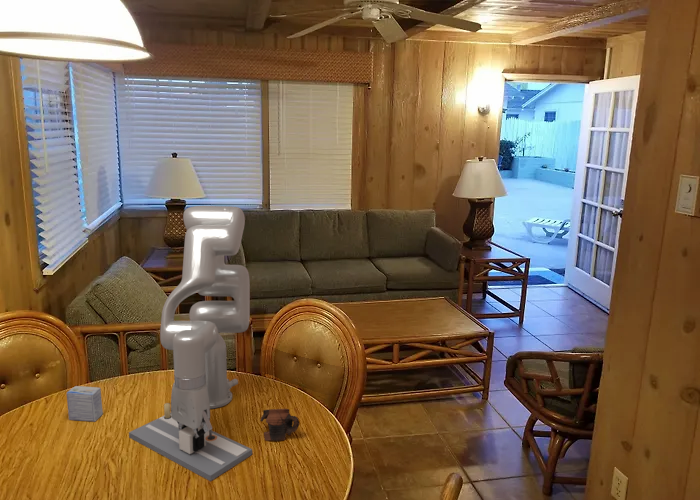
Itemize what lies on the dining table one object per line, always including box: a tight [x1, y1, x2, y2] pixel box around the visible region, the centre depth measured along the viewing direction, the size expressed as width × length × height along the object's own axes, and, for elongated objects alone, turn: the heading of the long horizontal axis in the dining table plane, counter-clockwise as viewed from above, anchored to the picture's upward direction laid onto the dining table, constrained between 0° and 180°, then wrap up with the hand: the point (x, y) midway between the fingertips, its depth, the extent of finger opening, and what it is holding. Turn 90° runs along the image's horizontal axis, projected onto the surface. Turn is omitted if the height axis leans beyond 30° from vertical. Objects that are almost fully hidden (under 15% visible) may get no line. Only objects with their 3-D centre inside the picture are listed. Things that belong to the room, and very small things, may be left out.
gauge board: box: [128, 402, 253, 482], centre depth 146 cm, size 14×32×6 cm, turn 56°
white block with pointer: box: [179, 427, 213, 454], centre depth 143 cm, size 9×4×5 cm, turn 146°
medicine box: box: [66, 385, 104, 422], centre depth 158 cm, size 8×4×9 cm, turn 84°
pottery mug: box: [260, 408, 300, 442], centre depth 154 cm, size 12×10×8 cm
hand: (192, 445), depth 142 cm, fingers closed on white block with pointer, 4 cm apart
